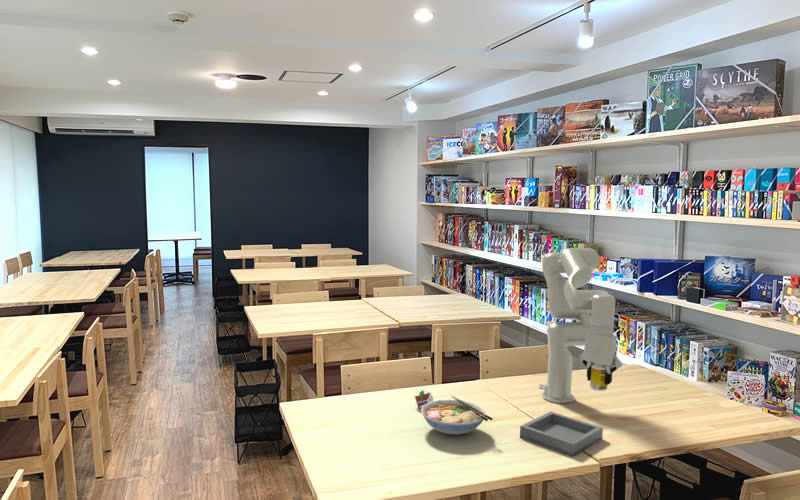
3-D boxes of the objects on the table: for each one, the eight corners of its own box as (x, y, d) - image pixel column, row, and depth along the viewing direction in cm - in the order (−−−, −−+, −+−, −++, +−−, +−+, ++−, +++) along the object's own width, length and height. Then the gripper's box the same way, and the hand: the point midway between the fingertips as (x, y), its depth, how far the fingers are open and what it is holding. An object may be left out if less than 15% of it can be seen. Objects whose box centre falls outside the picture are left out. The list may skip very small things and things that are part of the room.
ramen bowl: (408, 422, 210) (408, 400, 210) (463, 414, 220) (464, 393, 219) (439, 450, 188) (440, 426, 187) (500, 440, 197) (501, 416, 196)
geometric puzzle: (408, 403, 224) (420, 388, 222) (414, 397, 230) (426, 383, 228) (421, 416, 222) (434, 402, 220) (427, 410, 229) (439, 396, 226)
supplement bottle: (600, 392, 197) (602, 362, 196) (586, 387, 201) (588, 358, 200) (610, 389, 200) (612, 360, 199) (596, 384, 204) (598, 356, 203)
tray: (519, 437, 199) (520, 426, 199) (550, 422, 214) (550, 411, 213) (573, 456, 185) (573, 444, 185) (602, 438, 199) (602, 427, 199)
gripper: (573, 327, 202) (570, 378, 203) (622, 336, 190) (619, 390, 192) (583, 324, 207) (580, 373, 209) (631, 333, 195) (628, 385, 197)
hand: (598, 381), depth 200 cm, fingers closed on supplement bottle, 5 cm apart
